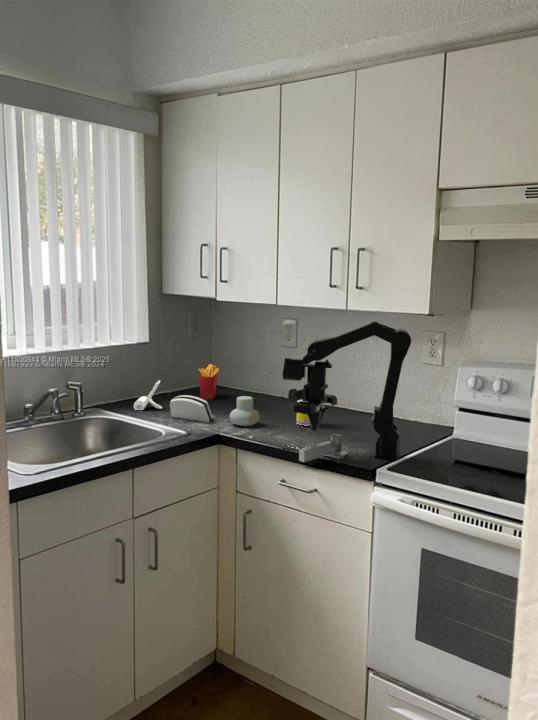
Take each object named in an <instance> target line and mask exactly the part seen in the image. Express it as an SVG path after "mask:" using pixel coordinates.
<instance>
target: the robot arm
mask: <svg viewBox="0 0 538 720" xmlns="http://www.w3.org/2000/svg"><path fill="white" fill-rule="evenodd" d="M370 337H377V338H379V339H381V340H383V341H386V342H387V343H389V344H390V360H389V365H388V369H387V374H386V379H385V383H384V384H385V385H384V389H383V393H382V397H381V401H380V404H379V406H376V405H375V406H374V407H373V408H374V409H373V410H374V411H373V415H372V416H371V423H372V424H373V430H374V431H375V433H376V434H378V435H379V436H378V437H377V439H376V440H377V441H375V452H374V453H375V455H374V458H375V459H379V458H380V460H387V461H391V462H395V461H397V460H398V459H399V458H401V457H402V454H401V452H400V451H401V438H400V432H399V431H400V430H399V428H398V426H396V424H395V423H394V404H395V400H396V395H397V392H398V391H397V390H398V386H399V381H400V375H401V371H402V367H403V362H404V361H405V358H406V357H407V354H408V351H409V348H410V347H411V344H412V337H411V335H410V333H409V332H408V331H407V330H405V329H404V328H403V329H402V328H399V329H398V328H397V329H395V328H393V327H390V326H387V325H384V324H382V323H380V322H378V321H376V320H374V321H371V322H369V323H367V324H365V325H362V326H360V327H356V328H354V329H352V330H350V331H349V330H348V331H347V332H344V333H341V334H339V335H336V336H333V337H325V338H321V339H320V338H319V339H316V340H313V341H312V342H311V343H310V344H309V345H308V348H307V353H306V355H304V356H303V357H302V358H292V357H291V358H290V357H285V358H284V363H283V368H282V380H284V381H299V382H302V380H303V378H304V379H305V378H306V376H307V378H306V379H307V380H306V384H304V385H303V388H302V389H297V388H293V389H289V390H288V395H287V398H288V399H289V400H290V401H291V403H294V404H293V405H292V413H296V414H297V413H302V414H307V415H308V417H309V420H310V423H311V426H310V427H311V429H312V432H317V431H318V429H319V428H320V426H321V423H322V422H323V419H324V417H325V416H326V414H327V413H328V411H329V407H326V406H325V404H331V406H336V405H337V404H338V397H337V396H336V395H335V394H328V393H326V389H329V384H326V383H327V380H326V379H327V369H332V368H333V364H332V363H331V362H330V361H329V359H328V358H327V357H329V356H330V355H332V354H333V353H335V352H337V351H338V350H339V349H342V348H344V347H348V346H351V345H353V344H355V343H358V342H360V341H362V340H366V339H368V338H370ZM325 358H327V359H325ZM323 359H325V361H323ZM313 361H314V363H312V362H313ZM306 371H307V372H306ZM306 373H307V375H306ZM298 400H302V401H300V402H297V401H298ZM303 401H305V402H303ZM306 401H307V402H306Z"/></svg>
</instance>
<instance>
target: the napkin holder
mask: <svg viewBox="0 0 538 720" xmlns="http://www.w3.org/2000/svg"><path fill="white" fill-rule="evenodd" d="M169 407H170V409H169V410H170V417H171V418H177V419H183V420H190V421H195V420H197V421H198V422H202V421H203V423H209V422H210V420H211V419H212V421H215V415H213V414H212V410H211V408H210V405H209V402H208V401H207V400H206V399H201V397H198V396H193V395H185V394H183V395H178V396H175V397H173V398H172V399H171V400H170V402H169ZM197 421H196V422H197Z"/></svg>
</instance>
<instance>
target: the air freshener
mask: <svg viewBox="0 0 538 720" xmlns="http://www.w3.org/2000/svg"><path fill="white" fill-rule="evenodd" d="M229 420H230V421H231V423H233V424H234V425H236V426H238V425H239V427H252V426H254V425H256V424H257V423H258V422H259V420H260V413H259V412H258V411H257V410H256V409H254V398H253V397H251V396H250V395H249V396H248V395H247V396H246V395H242V396H241V395H240V396H237V398H236V408H235V409H233V410H231V411H230V413H229ZM251 425H252V426H251Z"/></svg>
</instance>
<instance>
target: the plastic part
mask: <svg viewBox="0 0 538 720" xmlns="http://www.w3.org/2000/svg"><path fill="white" fill-rule="evenodd" d="M160 383H161V380H160V379H158V380H157V381H156V382H155V384H154V386H153V387H152V390H150V392H149V393H148V395H147V396H145V395H144V396H140V397H139V398H137V400H136V401H135V402H134V403H133V408H134V410H135V411H136V410H142V411H143V410H145V409H146V407H148V404H150V405H151V406H153V407H154V408H155V409H158V410H161V409H163V406H161V405H160V404H157V403H156V402H155V401H153V399H152V397H153V395H154V393H155V392H156V390H157V388H158V387H159V385H160Z"/></svg>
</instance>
